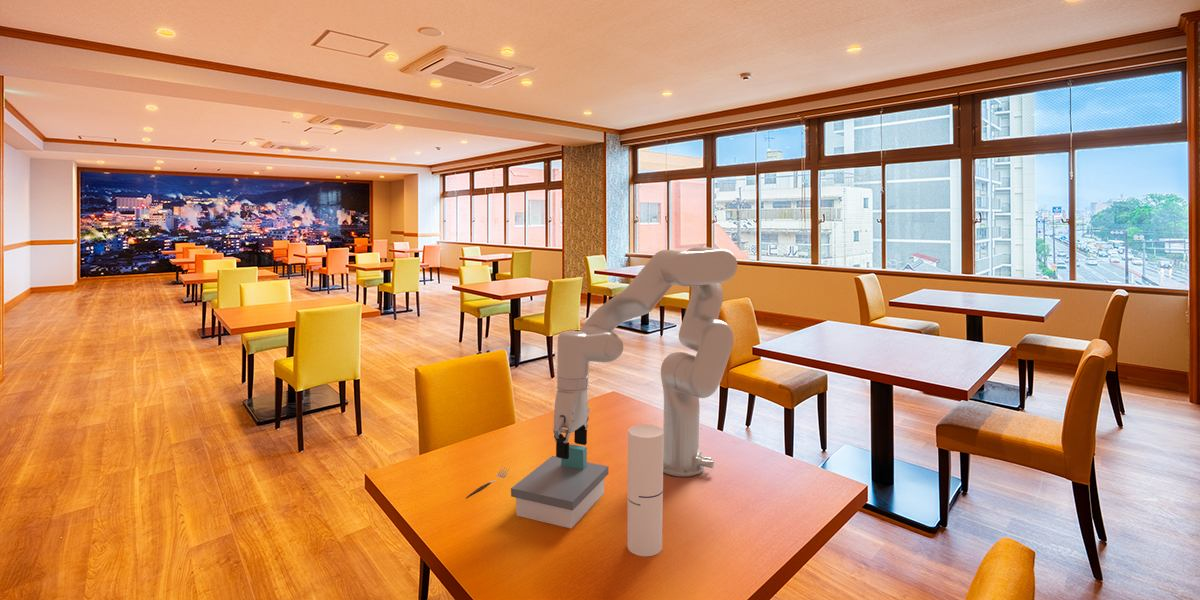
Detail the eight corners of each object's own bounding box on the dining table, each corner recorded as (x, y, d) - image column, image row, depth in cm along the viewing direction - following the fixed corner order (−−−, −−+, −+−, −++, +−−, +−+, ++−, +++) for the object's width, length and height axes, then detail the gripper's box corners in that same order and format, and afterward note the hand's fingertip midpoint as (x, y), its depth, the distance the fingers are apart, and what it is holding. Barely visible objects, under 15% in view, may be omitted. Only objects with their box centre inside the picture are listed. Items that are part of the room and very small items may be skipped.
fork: (461, 498, 142) (461, 491, 141) (502, 473, 155) (502, 466, 155) (470, 501, 140) (469, 493, 140) (510, 475, 154) (510, 468, 154)
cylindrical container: (660, 558, 116) (662, 438, 113) (624, 554, 118) (625, 436, 114) (663, 539, 123) (665, 425, 119) (630, 535, 124) (630, 423, 121)
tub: (604, 493, 143) (604, 470, 143) (571, 528, 127) (570, 502, 126) (554, 482, 149) (553, 460, 148) (516, 515, 133) (515, 490, 132)
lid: (608, 473, 143) (608, 446, 142) (572, 510, 125) (572, 479, 124) (552, 463, 149) (552, 437, 148) (511, 496, 132) (510, 467, 131)
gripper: (574, 372, 149) (573, 436, 151) (541, 389, 134) (540, 460, 136) (601, 376, 146) (600, 441, 148) (570, 394, 130) (569, 466, 133)
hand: (571, 450), depth 142 cm, fingers open, 9 cm apart
